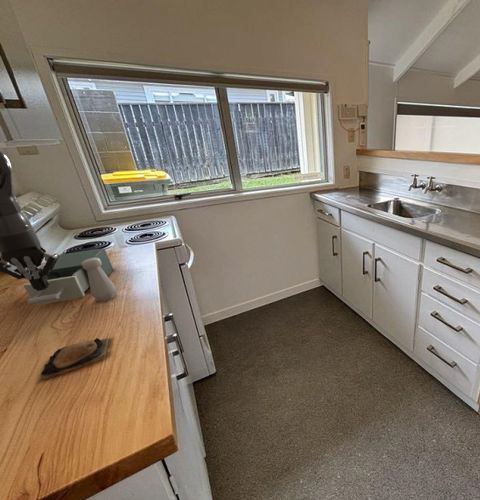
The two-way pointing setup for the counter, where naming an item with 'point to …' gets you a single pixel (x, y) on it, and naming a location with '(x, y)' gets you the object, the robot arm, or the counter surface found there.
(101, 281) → the salt shaker
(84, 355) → the brown and black piece
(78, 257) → the cabinet
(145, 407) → the counter surface
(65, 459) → the counter surface
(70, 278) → the drawer
